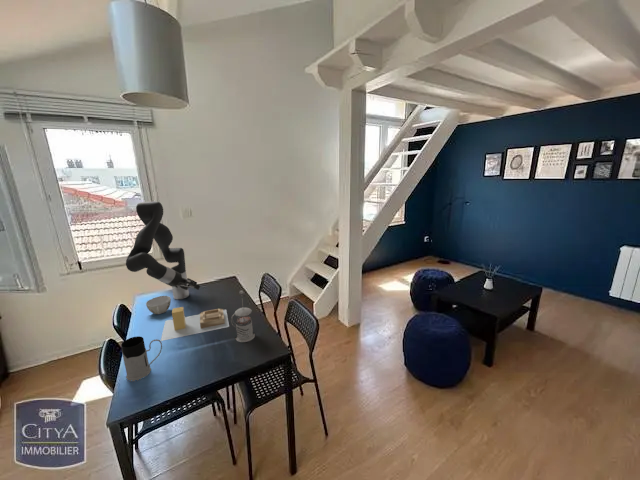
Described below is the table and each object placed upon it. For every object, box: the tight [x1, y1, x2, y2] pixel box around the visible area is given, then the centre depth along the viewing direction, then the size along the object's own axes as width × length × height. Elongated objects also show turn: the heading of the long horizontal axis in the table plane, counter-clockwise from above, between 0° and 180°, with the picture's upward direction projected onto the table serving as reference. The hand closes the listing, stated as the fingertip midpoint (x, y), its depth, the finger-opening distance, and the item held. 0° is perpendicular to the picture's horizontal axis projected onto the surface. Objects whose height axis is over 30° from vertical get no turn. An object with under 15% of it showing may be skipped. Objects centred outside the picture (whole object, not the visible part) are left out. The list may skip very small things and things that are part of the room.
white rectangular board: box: [160, 309, 230, 342], centre depth 149 cm, size 20×32×1 cm, turn 113°
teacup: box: [145, 295, 172, 315], centre depth 160 cm, size 15×12×8 cm
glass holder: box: [120, 336, 163, 382], centre depth 113 cm, size 9×14×15 cm, turn 114°
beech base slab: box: [199, 308, 225, 328], centre depth 151 cm, size 12×12×4 cm
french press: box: [230, 290, 256, 343], centre depth 136 cm, size 10×12×25 cm
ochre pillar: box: [171, 306, 186, 330], centre depth 145 cm, size 5×5×10 cm
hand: (193, 288), depth 149 cm, fingers open, 8 cm apart
